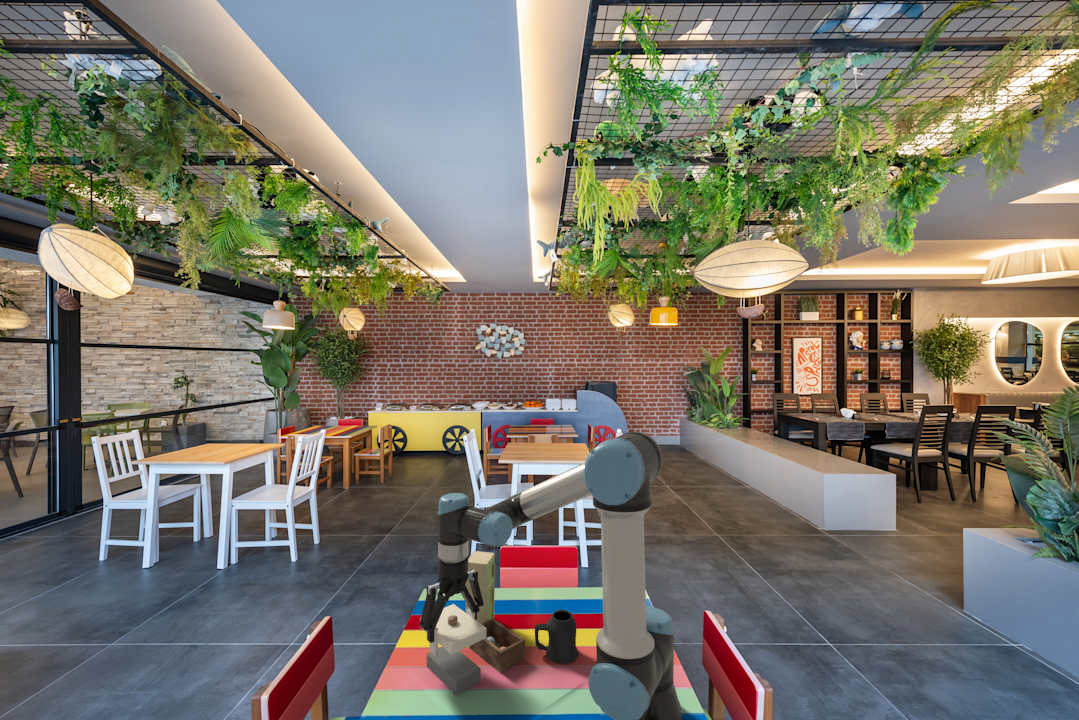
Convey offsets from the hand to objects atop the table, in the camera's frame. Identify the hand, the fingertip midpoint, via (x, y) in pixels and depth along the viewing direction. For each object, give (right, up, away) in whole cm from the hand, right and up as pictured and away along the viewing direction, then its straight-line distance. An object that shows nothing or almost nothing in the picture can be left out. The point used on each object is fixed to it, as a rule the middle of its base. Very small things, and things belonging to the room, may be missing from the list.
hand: (452, 644), depth 120 cm
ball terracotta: (+12, -7, +6) cm, 16 cm away
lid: (0, +3, 0) cm, 3 cm away
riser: (0, -8, 0) cm, 8 cm away
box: (+10, -8, +8) cm, 16 cm away
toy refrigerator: (+5, -8, +22) cm, 24 cm away
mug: (+27, -8, +8) cm, 29 cm away
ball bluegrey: (+8, -7, +10) cm, 15 cm away
